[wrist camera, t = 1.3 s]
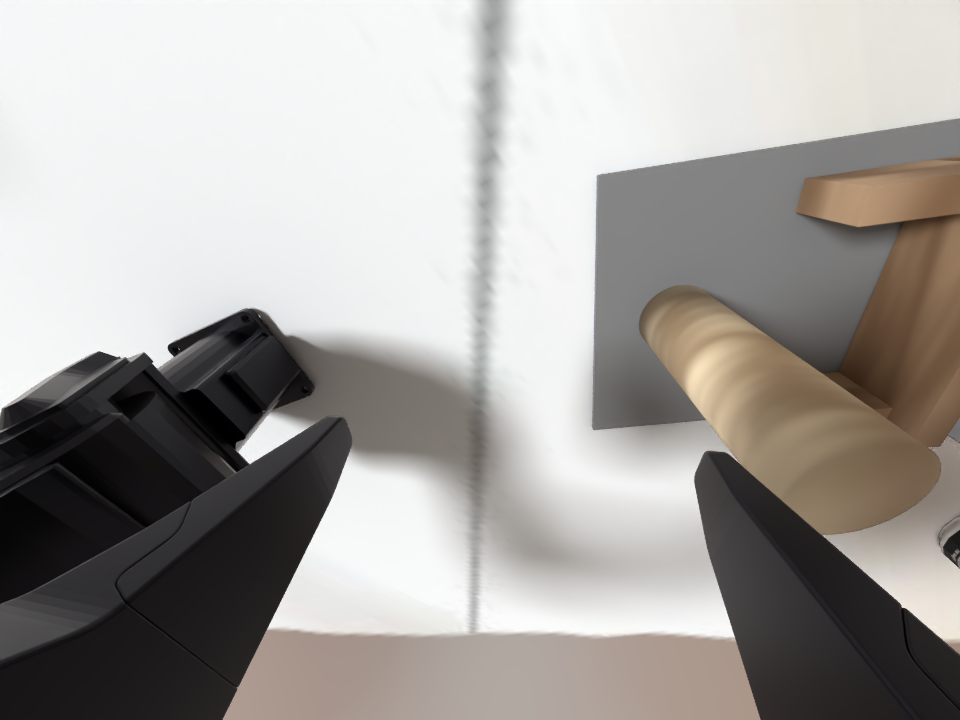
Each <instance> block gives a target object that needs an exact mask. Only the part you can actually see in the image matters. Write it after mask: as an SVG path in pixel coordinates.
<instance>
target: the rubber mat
mask: <svg viewBox="0 0 960 720" xmlns="http://www.w3.org/2000/svg"><path fill="white" fill-rule="evenodd" d="M953 156H960V118H959V119H953V120H947V121H940V122H934V123H927V124H921V125H915V126H908V127H902V128H896V129H889V130H883V131H876V132H870V133H864V134H857V135H851V136H844V137H838V138H832V139H825V140H819V141H812V142H806V143H800V144H793V145H787V146H780V147H774V148H768V149H761V150H755V151H748V152H742V153H736V154H729V155H723V156H716V157H710V158H704V159H697V160H691V161H685V162H678V163H672V164H665V165H659V166H653V167H646V168H640V169H633V170H627V171H621V172H614V173H608V174H601V175H597V207H596V260H595V313H594V366H593V419H592V428H593V430H600V429H611V428H622V427H633V426H644V425H655V424H666V423H677V422H688V421H699V420H706V419H705V418H704V416H703V415H702V414H701V413H700V411H699V410H698V409H697V407H696V406H695V405H694V404H693V402H692V401H691V400H690V398H689V397H688V396H687V394H686V393H685V392H684V391H683V389H682V388H681V387H680V385H679V384H678V383H677V382H676V380H675V379H674V378H673V376H672V375H671V374H670V373H669V371H668V370H667V369H666V367H665V366H664V365H663V363H662V362H661V361H660V360H659V358H658V357H657V356H656V354H655V353H654V352H653V351H652V349H651V348H650V347H649V345H648V344H647V343H646V342H645V340H644V339H643V338H642V336H641V334H640V330H639V320H640V316H641V313H642V311H643V309H644V308H645V306H646V305H647V303H648V302H649V301H650V300H651V299H652V298H653V297H654V296H656V295H657V294H658V293H660V292H662V291H663V290H665V289H668V288H670V287H673V286H678V285H692V286H696V287H698V288H700V289H702V290H703V291H705V292H706V293H708V294H709V295H711V296H712V297H713V298H715V299H716V300H718V301H719V302H721V303H722V304H723V305H725V306H726V307H728V308H729V309H731V310H732V311H733V312H735V313H736V314H738V315H739V316H741V317H742V318H743V319H745V320H746V321H748V322H749V323H751V324H752V325H753V326H755V327H756V328H758V329H759V330H761V331H762V332H763V333H765V334H766V335H768V336H769V337H771V338H772V339H773V340H775V341H776V342H778V343H779V344H781V345H782V346H783V347H785V348H786V349H788V350H789V351H791V352H792V353H793V354H795V355H796V356H798V357H799V358H801V359H802V360H803V361H805V362H806V363H808V364H809V365H811V366H812V367H813V368H815V369H816V370H818V371H819V372H821V373H832V372H839V369H840V367H841V365H842V362H843V360H844V358H845V355H846V353H847V351H848V349H849V346H850V344H851V342H852V339H853V337H854V335H855V332H856V330H857V328H858V325H859V323H860V321H861V319H862V316H863V314H864V312H865V309H866V307H867V305H868V302H869V300H870V298H871V296H872V293H873V291H874V289H875V286H876V284H877V282H878V279H879V277H880V275H881V272H882V270H883V268H884V266H885V263H886V261H887V259H888V256H889V254H890V252H891V249H892V247H893V245H894V243H895V240H896V238H897V236H898V233H899V231H900V229H901V226H902V224H903V222H904V221H900V222H893V223H885V224H878V225H870V226H863V227H856V226H852V225H847V224H843V223H839V222H834V221H830V220H826V219H822V218H817V217H813V216H809V215H804V214H800V213H796V209H797V206H798V202H799V199H800V195H801V192H802V188H803V185H804V181H805V178H811V177H818V176H825V175H832V174H838V173H845V172H852V171H859V170H865V169H872V168H879V167H886V166H892V165H899V164H906V163H913V162H920V161H926V160H933V159H940V158H947V157H953Z"/></svg>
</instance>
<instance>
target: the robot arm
mask: <svg viewBox="0 0 960 720" xmlns="http://www.w3.org/2000/svg"><path fill="white" fill-rule="evenodd" d="M245 315H246V316H248V317H249V318H250V320H248V319H247V318H246V317H245ZM178 348H179V349H180V350H179V349H178ZM168 350H169V352H170V353H171V354H172V355H173V356H174V358H172V359H171V360H169V361H168V362H166V363H165V364H163V365H162V366H161V367H159V368H158V369H157V368H156V367H155V366H154V365H153V364H152V363H153V361H152V360H151V359H150V358H149V357H148V355H147V354H146V353H145V352H143V353H141V354H138V355H135V356H133V357H130V358H126V357H124V358H120V357H115V356H112V355H109V354H106V353H103V352H100V351H99V352H96V353H93V354H91V355H89V356H87V357H85V358H83V359H81V360H79V361H77V362H75V363H74V364H72V365H70V366H68V367H66V368H64V369H62V370H61V371H59V372H57V373H55V374H53V375H52V376H50V377H48V378H46V379H45V380H43V381H42V382H40V383H39V384H37V385H36V386H34V387H33V388H31V389H30V390H28V391H27V392H25V393H24V394H22V395H21V396H19V397H18V398H17V399H15V400H14V401H12V402H11V403H9V404H8V405H6V406H5V407H3V408H2V410H1V414H0V720H223V717H224V715H225V713H226V711H227V709H228V707H229V705H230V703H231V701H232V699H233V697H234V695H235V693H236V691H237V687H238V686H239V685H240V683H241V681H242V679H243V677H244V674H245V673H246V671H247V668H248V666H249V664H250V662H251V660H252V658H253V656H254V654H255V652H256V650H257V648H258V646H259V644H260V642H261V640H262V638H263V636H264V634H265V632H266V630H267V628H268V626H269V624H270V622H271V620H272V618H273V616H274V614H275V612H276V610H277V608H278V606H279V604H280V602H281V600H282V598H283V596H284V594H285V592H286V590H287V588H288V586H289V584H290V582H291V580H292V578H293V576H294V574H295V572H296V570H297V568H298V566H299V564H300V562H301V560H302V558H303V556H304V554H305V552H306V549H307V547H308V545H309V543H310V541H311V539H312V537H313V535H314V533H315V531H316V529H317V527H318V525H319V523H320V521H321V519H322V517H323V515H324V513H325V511H326V509H327V507H328V505H329V503H330V501H331V499H332V496H333V494H334V492H335V489H336V486H337V484H338V481H339V478H340V476H341V473H342V470H343V468H344V465H345V462H346V460H347V457H348V454H349V452H350V449H351V446H352V436H351V433H350V430H349V427H348V424H347V421H346V419H345V418H344V417H342V416H332V415H331V416H327V417H325V418H324V419H322V420H321V421H319V422H317V423H316V424H314V425H313V426H311V427H309V428H308V429H306V430H304V431H303V432H301V433H300V434H298V435H296V436H295V437H293V438H292V439H290V440H288V441H287V442H285V443H284V444H282V445H280V446H279V447H277V448H275V449H274V450H272V451H271V452H269V453H267V454H266V455H264V456H263V457H261V458H259V459H258V460H256V461H254V462H253V463H251V464H249V463H248V462H247V461H246V460H245V459H244V458H243V457H242V456H241V455H240V454H239V453H238V451H239V450H240V449H241V448H242V446H243V445H244V444H245V443H246V441H247V440H248V439H249V438H250V437H251V435H252V434H253V433H254V432H255V430H256V429H257V428H258V427H259V425H260V424H261V423H262V422H263V421H264V419H265V418H266V417H267V416H268V414H269V413H270V412H271V411H272V410H273V409H275V408H278V407H281V406H283V405H286V404H289V403H291V402H294V401H297V400H299V399H302V398H305V397H307V396H310V395H311V394H312V393H313V391H314V389H315V387H314V385H313V383H312V382H311V381H310V380H309V378H308V377H307V376H306V375H305V373H304V372H303V371H302V370H301V368H300V367H299V366H298V365H297V363H296V362H295V361H294V360H293V358H292V357H291V356H290V355H289V354H288V352H287V351H286V350H285V349H284V347H283V346H282V345H281V344H280V342H279V341H278V340H277V339H276V337H275V336H274V335H273V334H272V332H271V331H270V330H269V329H268V327H267V326H266V325H265V324H264V322H263V321H262V320H261V319H260V317H259V316H258V315H257V314H256V313H255V312H254V311H253V310H251V309H247V308H246V309H242V310H240V311H238V312H236V313H234V314H232V315H230V316H227V317H225V318H223V319H221V320H219V321H217V322H214V323H212V324H210V325H208V326H206V327H204V328H202V329H199V330H197V331H195V332H193V333H191V334H189V335H186V336H184V337H182V338H180V339H178V340H176V341H174V342H172V343H171V344H169V345H168ZM304 387H306V388H307V389H308V390H307V389H305V388H304ZM694 483H695V488H696V494H697V499H698V504H699V509H700V514H701V519H702V525H703V530H704V535H705V540H706V544H707V549H708V552H709V556H710V559H711V563H712V566H713V569H714V572H715V575H716V578H717V582H718V585H719V588H720V591H721V594H722V598H723V601H724V604H725V607H726V610H727V614H728V617H729V620H730V623H731V626H732V630H733V633H734V636H735V639H736V642H737V645H738V649H739V652H740V655H741V658H742V661H743V665H744V668H745V671H746V674H747V677H748V680H749V684H750V687H751V690H752V693H753V697H754V700H755V703H756V706H757V709H758V712H759V715H760V719H761V720H960V654H959V653H957V652H956V651H955V650H954V649H953V648H952V647H950V646H949V645H948V644H947V643H946V642H944V641H943V640H942V639H941V638H940V637H939V636H937V635H936V634H935V633H934V632H933V631H931V630H930V629H929V628H928V627H927V626H926V625H925V624H923V623H922V622H921V621H920V620H919V619H918V618H917V617H915V616H914V615H913V614H912V613H911V612H910V611H908V610H907V609H905V608H902V607H901V604H900V603H899V602H898V601H897V600H896V599H894V598H893V597H892V596H891V595H890V594H889V593H888V592H886V591H885V590H884V589H883V588H882V587H881V586H880V585H878V584H877V583H876V582H875V581H874V580H873V579H872V578H870V577H869V576H868V575H867V574H866V573H865V572H863V571H862V570H861V569H860V568H859V567H858V566H857V565H855V564H854V563H853V562H852V561H851V560H850V559H849V558H847V557H846V556H845V555H844V554H843V553H842V552H840V551H839V550H838V549H837V548H836V547H835V546H834V545H832V544H831V543H830V542H829V541H828V540H827V539H826V538H824V537H823V536H822V535H821V534H820V533H819V532H818V531H816V530H815V529H814V528H813V527H812V526H811V525H809V524H808V523H807V522H806V521H805V520H804V519H803V518H801V517H800V516H799V515H798V514H797V513H796V512H795V511H793V510H792V509H791V508H790V507H789V506H788V505H787V504H785V503H784V502H783V501H782V500H781V499H780V498H778V497H777V496H776V495H775V494H774V493H773V492H772V491H770V490H769V489H768V488H767V487H766V486H765V485H764V484H762V483H761V482H760V481H759V480H758V479H757V478H755V477H754V476H753V475H752V474H751V473H750V472H749V471H747V470H746V469H745V468H744V467H743V466H742V465H741V464H739V463H738V462H737V461H736V460H735V459H734V458H733V457H731V456H730V455H729V454H727V453H725V452H717V451H706V452H705V453H704V454H703V456H702V459H701V461H700V463H699V466H698V468H697V470H696V472H695V477H694Z"/></svg>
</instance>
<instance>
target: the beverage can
mask: <svg viewBox="0 0 960 720" xmlns="http://www.w3.org/2000/svg"><path fill="white" fill-rule="evenodd" d="M939 536H940V540H941V542H940V548H941V552H942V553H943V554H944V555H945V556H946V557H948V558H949V559H950V560H951V561H952V562H953V563H954V564H955V565H956V566H957V567H959V568H960V516H959V517H957V518H955V519H953V520H952V521H951V522H949V523H948V524H947V525H945V526H944V527H943V529H942V530H941V532H940V534H939Z"/></svg>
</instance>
